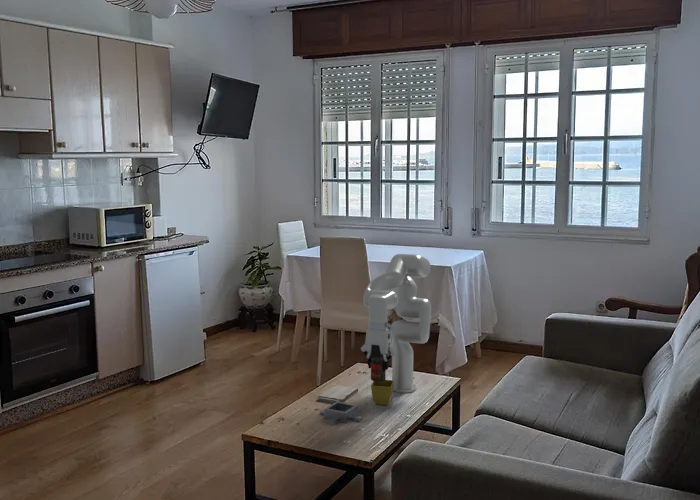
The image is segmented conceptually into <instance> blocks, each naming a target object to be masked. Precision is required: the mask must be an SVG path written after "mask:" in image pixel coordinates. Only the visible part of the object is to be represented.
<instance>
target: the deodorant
mask: <svg viewBox="0 0 700 500" xmlns="http://www.w3.org/2000/svg"><path fill="white" fill-rule="evenodd" d="M383 361H384V358H383V354H381V352H380V346H378V345H372V344H371V368H370V380H371V382H373V381H375V382H382V381H385V380H387V376H386V373H387V372H386V371H387V370H386V371H383Z"/></svg>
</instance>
